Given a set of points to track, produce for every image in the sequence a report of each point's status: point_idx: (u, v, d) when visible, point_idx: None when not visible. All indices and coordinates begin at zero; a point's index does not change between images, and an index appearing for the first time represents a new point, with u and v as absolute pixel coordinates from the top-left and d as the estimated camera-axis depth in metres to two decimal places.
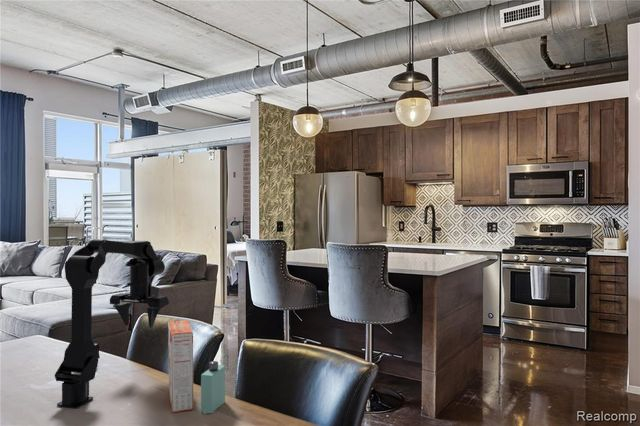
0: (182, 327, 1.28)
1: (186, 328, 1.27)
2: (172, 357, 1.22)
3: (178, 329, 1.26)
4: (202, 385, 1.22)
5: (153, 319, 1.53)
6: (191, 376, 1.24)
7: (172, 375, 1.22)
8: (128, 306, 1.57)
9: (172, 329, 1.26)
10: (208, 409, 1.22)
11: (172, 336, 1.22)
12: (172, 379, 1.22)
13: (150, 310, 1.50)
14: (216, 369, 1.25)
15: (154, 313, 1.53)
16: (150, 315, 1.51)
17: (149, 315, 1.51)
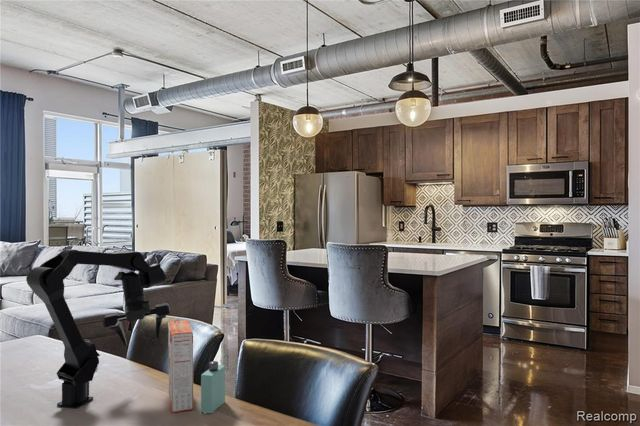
0: (182, 327, 1.28)
1: (186, 328, 1.27)
2: (172, 357, 1.22)
3: (178, 329, 1.26)
4: (202, 385, 1.22)
5: None
6: (191, 376, 1.24)
7: (172, 375, 1.22)
8: (156, 320, 1.43)
9: (172, 329, 1.26)
10: (208, 409, 1.22)
11: (172, 336, 1.22)
12: (172, 379, 1.22)
13: None
14: (216, 369, 1.25)
15: None
16: None
17: None
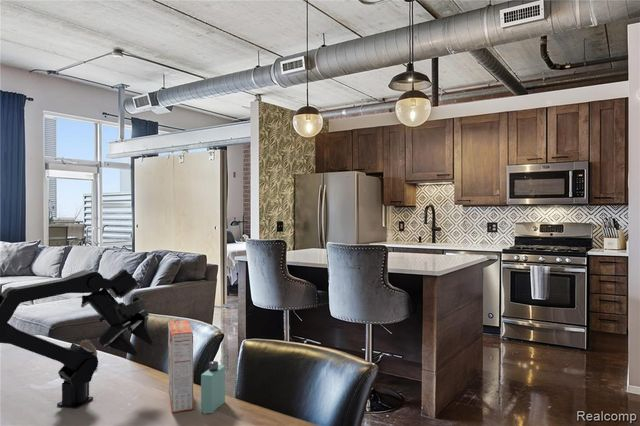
0: (182, 327, 1.28)
1: (186, 328, 1.27)
2: (172, 357, 1.22)
3: (178, 329, 1.26)
4: (202, 385, 1.22)
5: (128, 349, 1.27)
6: (191, 376, 1.24)
7: (172, 375, 1.22)
8: (142, 325, 1.37)
9: (172, 329, 1.26)
10: (208, 409, 1.22)
11: (172, 336, 1.22)
12: (172, 379, 1.22)
13: None
14: (216, 369, 1.25)
15: (123, 343, 1.27)
16: None
17: None
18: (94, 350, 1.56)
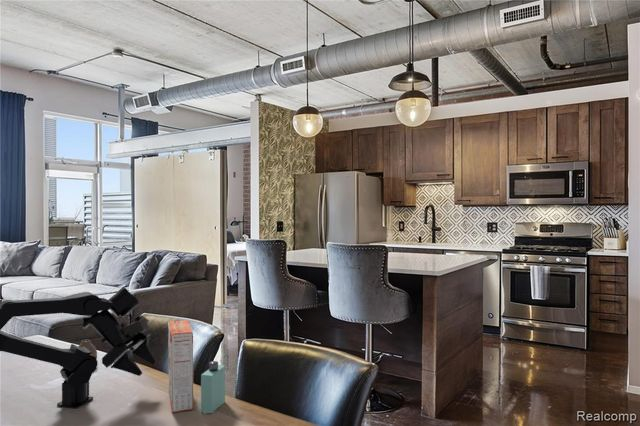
0: (182, 327, 1.28)
1: (186, 328, 1.27)
2: (172, 357, 1.22)
3: (178, 329, 1.26)
4: (202, 385, 1.22)
5: (132, 369, 1.26)
6: (191, 376, 1.24)
7: (172, 375, 1.22)
8: (144, 345, 1.37)
9: (172, 329, 1.26)
10: (208, 409, 1.22)
11: (172, 336, 1.22)
12: (172, 379, 1.22)
13: None
14: (216, 369, 1.25)
15: (127, 363, 1.26)
16: None
17: None
18: (94, 350, 1.56)
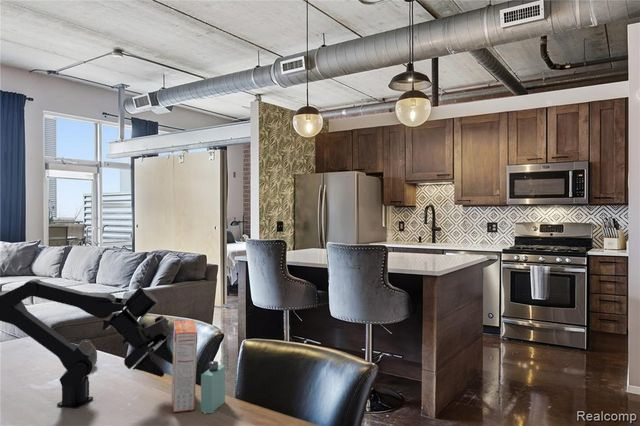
0: (187, 327, 1.28)
1: (191, 328, 1.27)
2: (176, 356, 1.22)
3: (183, 329, 1.26)
4: (202, 385, 1.22)
5: (154, 370, 1.25)
6: (194, 376, 1.23)
7: (175, 374, 1.22)
8: (164, 345, 1.36)
9: (177, 328, 1.26)
10: (208, 409, 1.22)
11: (176, 335, 1.22)
12: (175, 378, 1.22)
13: None
14: (216, 369, 1.25)
15: (149, 364, 1.25)
16: None
17: None
18: (94, 350, 1.56)
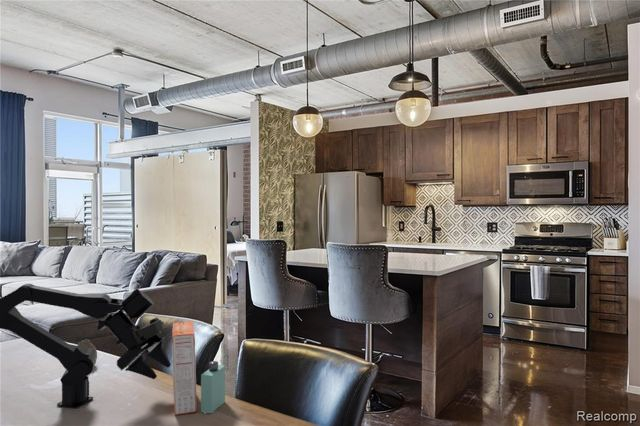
0: (185, 328, 1.26)
1: (189, 329, 1.25)
2: (174, 359, 1.20)
3: (180, 331, 1.24)
4: (202, 385, 1.22)
5: (146, 372, 1.25)
6: (193, 378, 1.22)
7: (174, 377, 1.21)
8: (159, 347, 1.35)
9: (174, 330, 1.25)
10: (208, 409, 1.22)
11: (173, 338, 1.20)
12: (174, 381, 1.21)
13: None
14: (216, 369, 1.25)
15: (142, 366, 1.25)
16: None
17: None
18: (94, 350, 1.56)
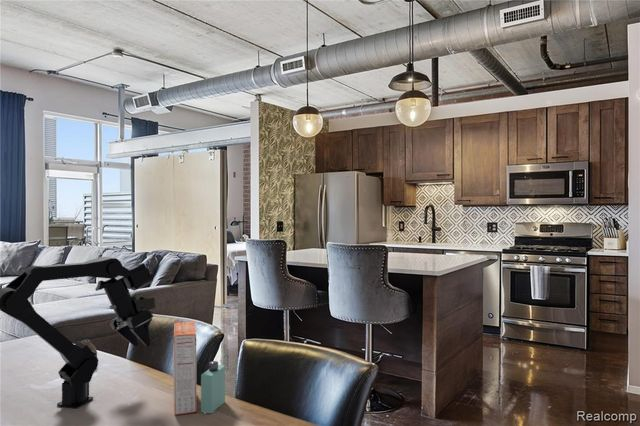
0: (186, 329, 1.26)
1: (190, 330, 1.25)
2: (175, 359, 1.20)
3: (182, 331, 1.24)
4: (202, 385, 1.22)
5: (145, 337, 1.33)
6: (194, 379, 1.22)
7: (175, 377, 1.21)
8: None
9: (176, 330, 1.25)
10: (208, 409, 1.22)
11: (175, 338, 1.20)
12: (175, 381, 1.21)
13: (133, 331, 1.31)
14: (216, 369, 1.25)
15: (143, 331, 1.33)
16: (137, 335, 1.31)
17: (136, 335, 1.32)
18: (94, 350, 1.56)
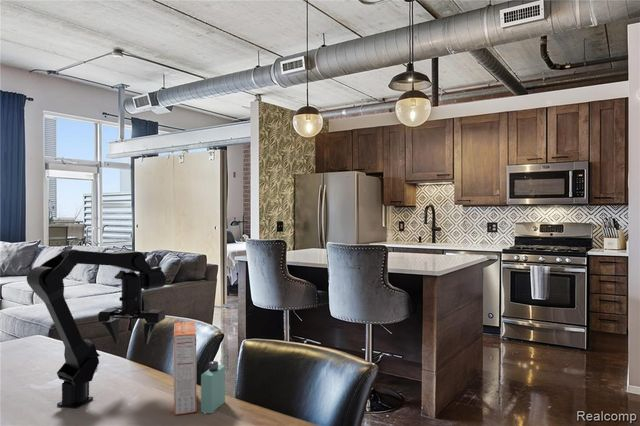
0: (186, 329, 1.26)
1: (190, 330, 1.25)
2: (175, 359, 1.20)
3: (182, 331, 1.24)
4: (202, 385, 1.22)
5: (149, 335, 1.41)
6: (194, 379, 1.22)
7: (175, 377, 1.21)
8: (117, 322, 1.44)
9: (176, 330, 1.25)
10: (208, 409, 1.22)
11: (175, 338, 1.20)
12: (175, 381, 1.21)
13: (147, 326, 1.39)
14: (216, 369, 1.25)
15: (150, 329, 1.42)
16: (147, 331, 1.39)
17: (146, 331, 1.40)
18: None
